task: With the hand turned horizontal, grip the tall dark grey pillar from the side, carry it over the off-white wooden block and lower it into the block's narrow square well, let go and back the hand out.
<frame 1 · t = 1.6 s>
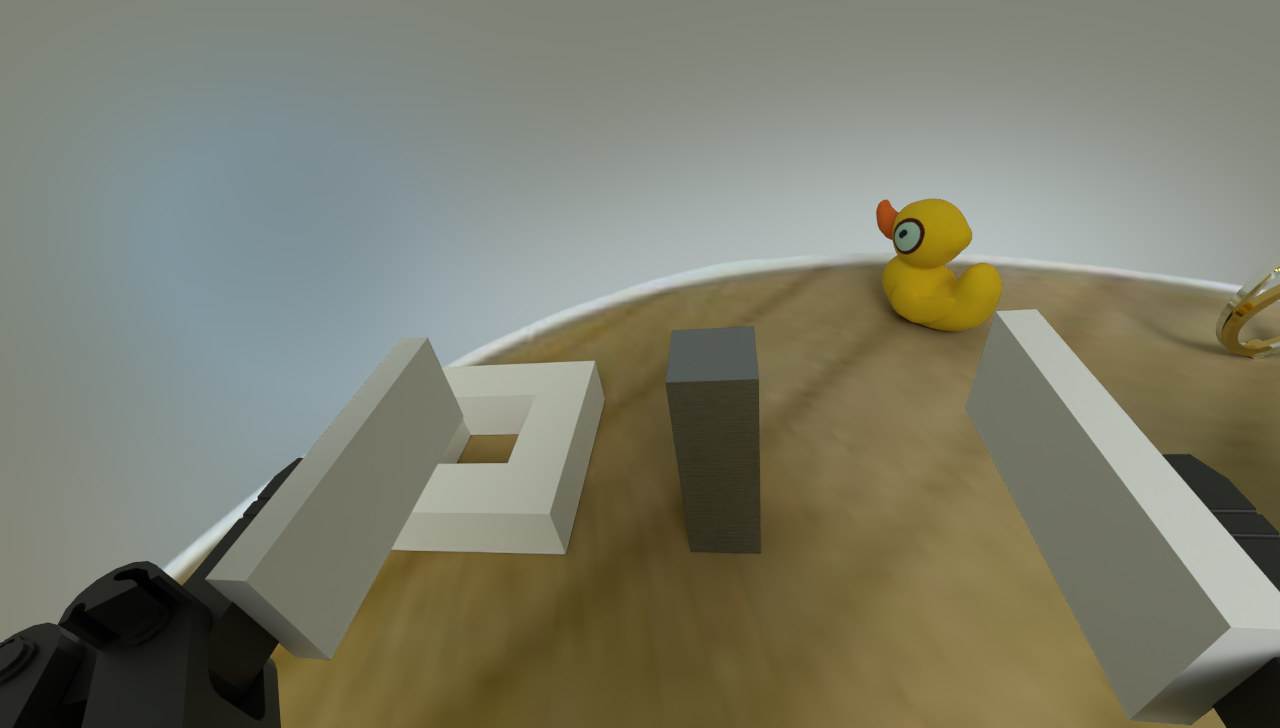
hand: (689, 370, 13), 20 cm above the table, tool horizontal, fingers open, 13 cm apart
tall dark grey pillar: (725, 523, 32), on the table
ring: (1250, 357, 37), on the table
well block: (495, 466, 39), on the table
duckling: (920, 319, 46), on the table
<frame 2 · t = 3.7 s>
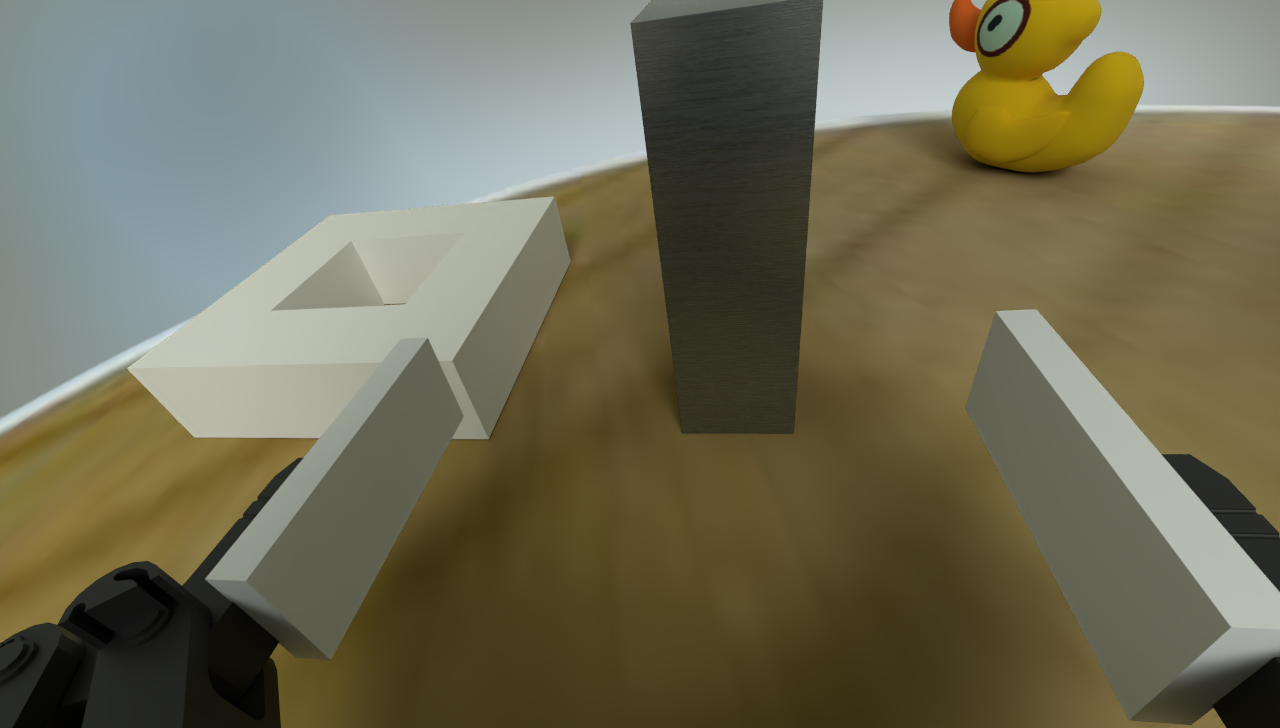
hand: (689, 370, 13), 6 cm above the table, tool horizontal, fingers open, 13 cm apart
tall dark grey pillar: (736, 395, 21), on the table
well block: (409, 336, 27), on the table
duckling: (1003, 167, 34), on the table
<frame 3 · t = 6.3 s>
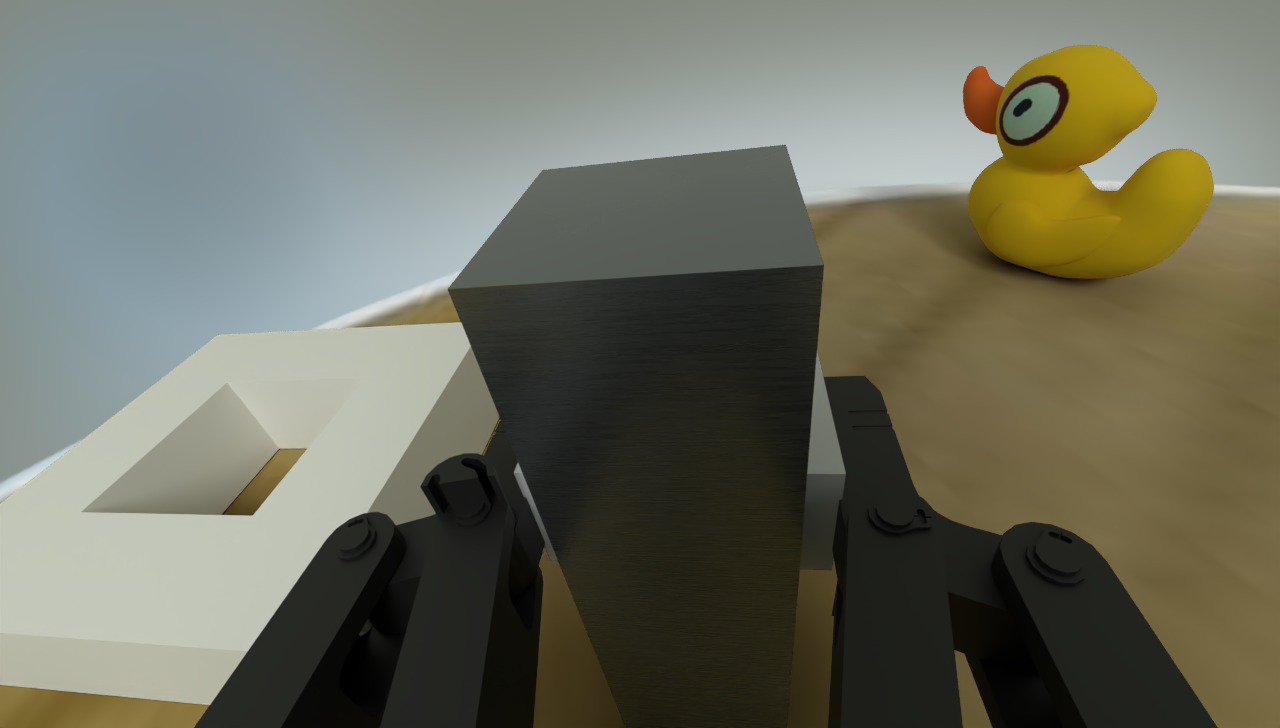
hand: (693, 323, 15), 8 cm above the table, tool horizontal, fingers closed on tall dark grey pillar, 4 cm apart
tall dark grey pillar: (705, 652, 15), on the table, touching gripper
well block: (296, 507, 21), on the table
duckling: (1031, 266, 28), on the table
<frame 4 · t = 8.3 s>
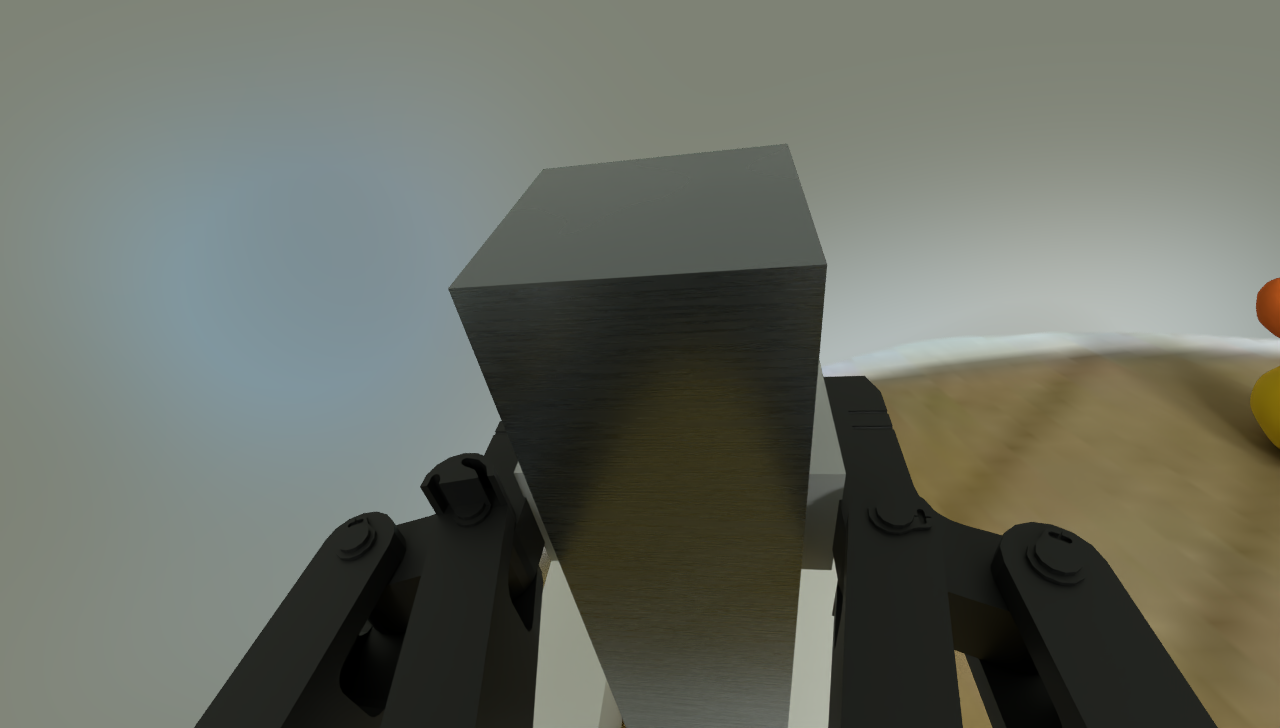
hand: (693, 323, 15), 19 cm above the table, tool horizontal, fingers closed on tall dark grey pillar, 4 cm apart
tall dark grey pillar: (706, 652, 15), point 11 cm above the table, touching gripper
when the fingers open (10 cm above the table, at t = 10.6 s): tall dark grey pillar drops 2 cm, resting in well block.
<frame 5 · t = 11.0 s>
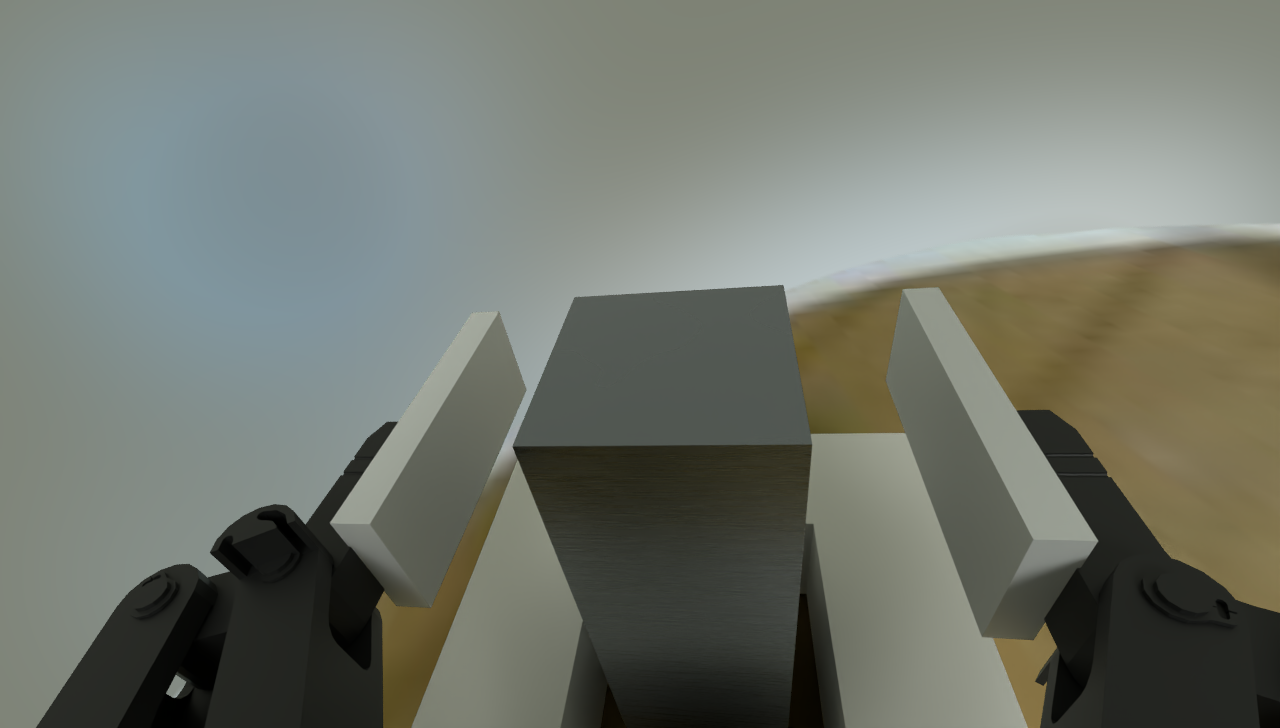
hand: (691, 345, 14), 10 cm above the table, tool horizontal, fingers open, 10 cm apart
tall dark grey pillar: (711, 690, 16), resting in well block
well block: (710, 689, 16), on the table
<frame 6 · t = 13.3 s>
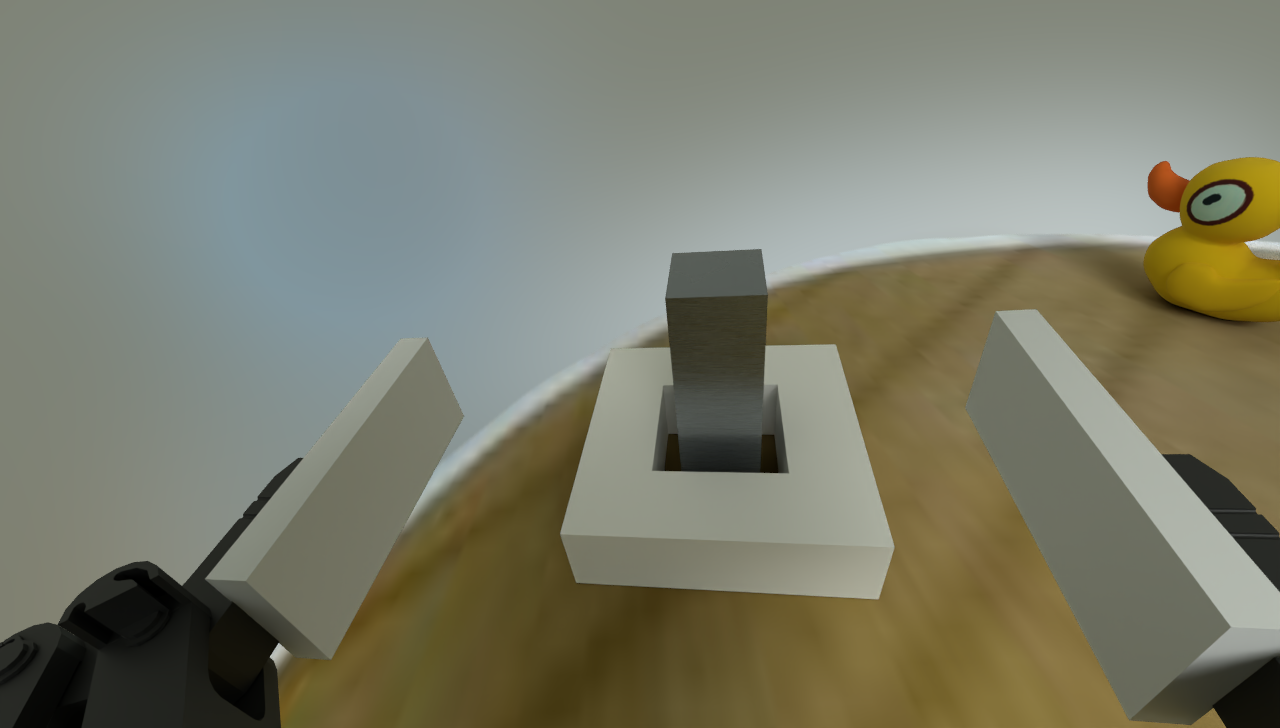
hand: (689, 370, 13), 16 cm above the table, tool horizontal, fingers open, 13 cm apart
tall dark grey pillar: (721, 475, 30), resting in well block
well block: (720, 474, 30), on the table
duckling: (1192, 308, 38), on the table
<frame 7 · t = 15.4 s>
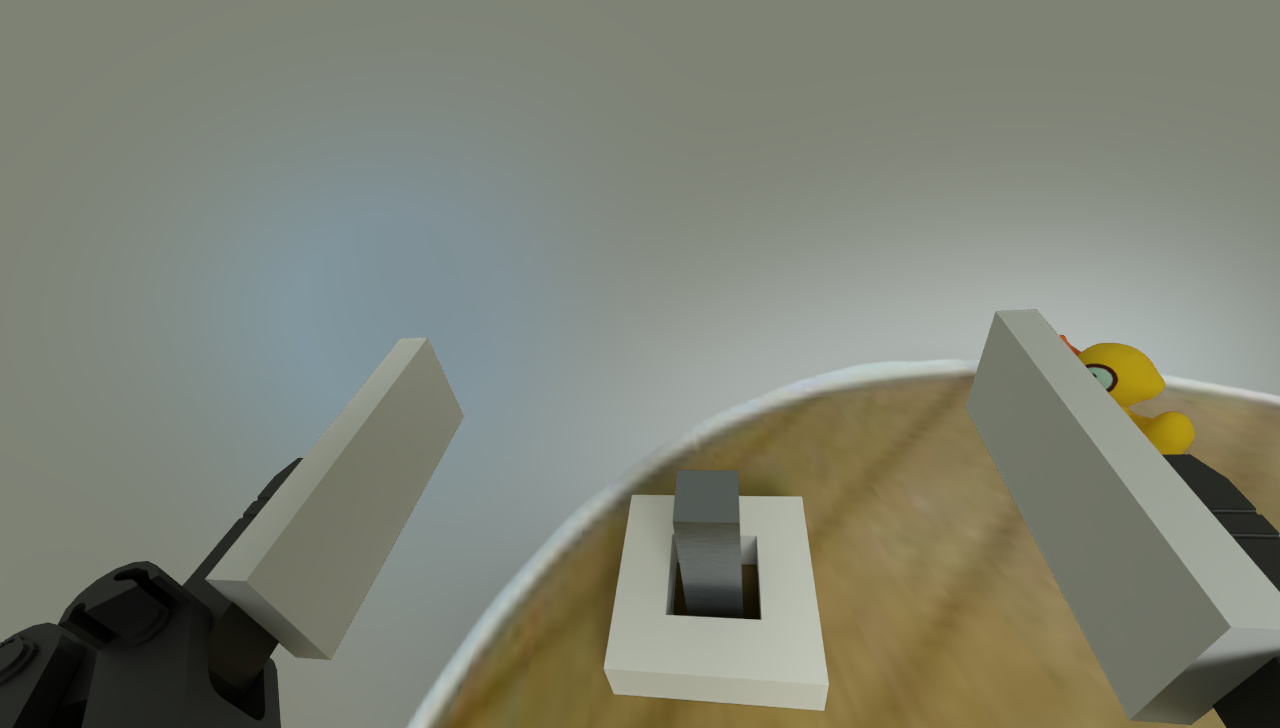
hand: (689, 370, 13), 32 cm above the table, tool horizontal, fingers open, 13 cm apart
tall dark grey pillar: (716, 602, 41), resting in well block
well block: (716, 601, 41), on the table
duckling: (1089, 445, 48), on the table
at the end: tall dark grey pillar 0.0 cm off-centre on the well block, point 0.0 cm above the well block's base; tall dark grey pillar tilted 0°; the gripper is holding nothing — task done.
